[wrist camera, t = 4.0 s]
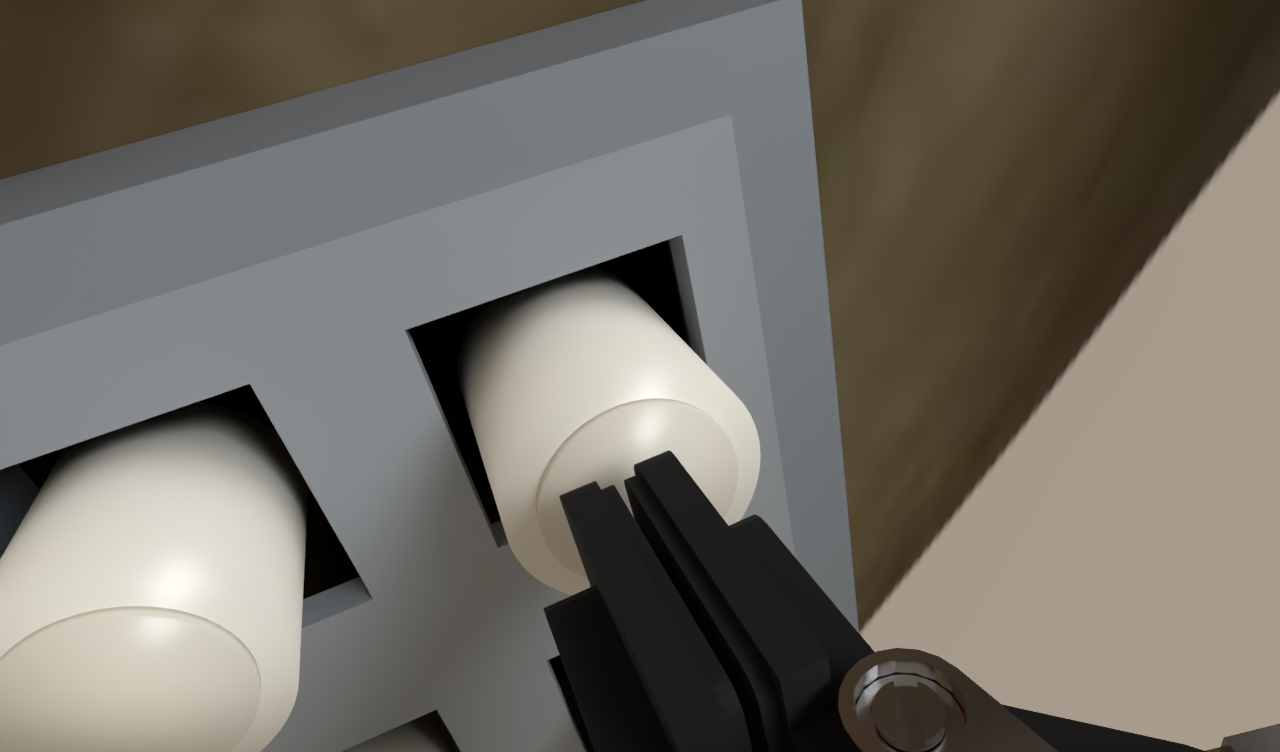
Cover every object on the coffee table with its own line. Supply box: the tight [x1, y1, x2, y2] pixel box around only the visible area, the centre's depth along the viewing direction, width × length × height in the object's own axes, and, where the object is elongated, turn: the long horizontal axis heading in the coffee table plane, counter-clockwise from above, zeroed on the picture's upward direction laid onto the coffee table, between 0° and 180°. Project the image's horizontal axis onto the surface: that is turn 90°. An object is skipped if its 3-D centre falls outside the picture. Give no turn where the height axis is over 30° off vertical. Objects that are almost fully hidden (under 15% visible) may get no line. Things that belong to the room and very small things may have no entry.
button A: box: [458, 267, 761, 595], centre depth 14 cm, size 4×4×5 cm
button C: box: [0, 402, 308, 752], centre depth 12 cm, size 4×4×5 cm
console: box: [0, 0, 859, 752], centre depth 18 cm, size 18×20×5 cm
